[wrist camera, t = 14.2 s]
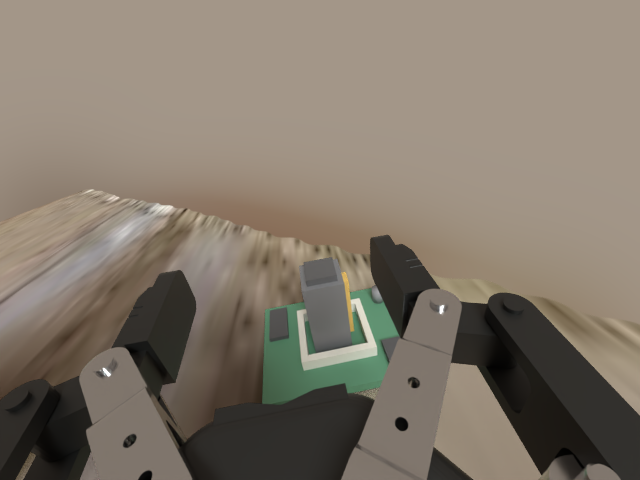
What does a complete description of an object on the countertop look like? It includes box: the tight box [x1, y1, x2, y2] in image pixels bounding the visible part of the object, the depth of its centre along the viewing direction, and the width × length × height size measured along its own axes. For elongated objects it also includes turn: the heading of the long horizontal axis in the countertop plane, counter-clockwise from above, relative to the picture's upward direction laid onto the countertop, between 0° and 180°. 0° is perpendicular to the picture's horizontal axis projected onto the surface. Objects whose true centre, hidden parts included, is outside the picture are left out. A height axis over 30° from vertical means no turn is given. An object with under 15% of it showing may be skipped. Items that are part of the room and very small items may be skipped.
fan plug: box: [299, 257, 354, 353], centre depth 34 cm, size 5×4×11 cm
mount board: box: [262, 285, 400, 405], centre depth 37 cm, size 18×14×3 cm
